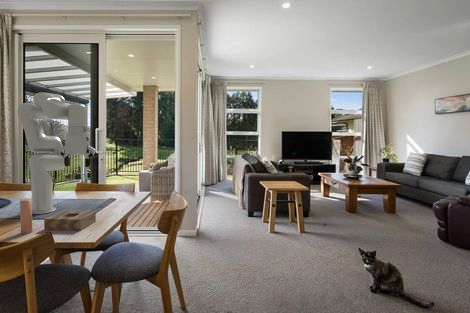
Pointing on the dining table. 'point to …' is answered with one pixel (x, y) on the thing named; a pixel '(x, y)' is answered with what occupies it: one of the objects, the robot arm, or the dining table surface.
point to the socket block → (70, 220)
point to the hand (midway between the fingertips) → (77, 166)
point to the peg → (26, 216)
